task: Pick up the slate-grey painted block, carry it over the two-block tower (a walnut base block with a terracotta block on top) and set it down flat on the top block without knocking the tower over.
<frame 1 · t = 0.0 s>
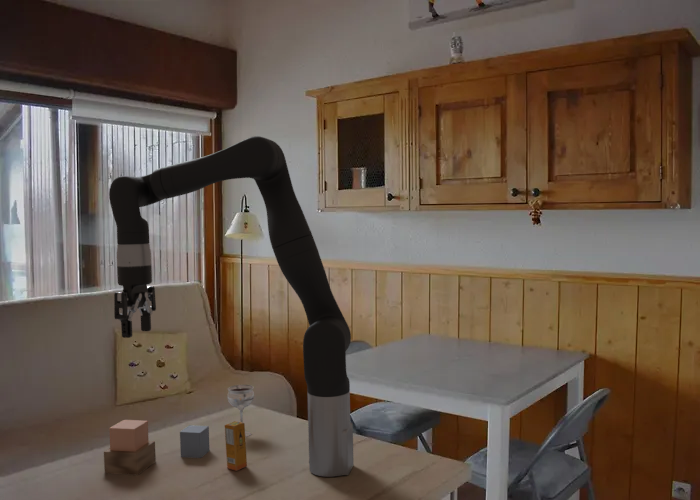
hand: (136, 334, 151), 29 cm above the table, fingers open, 8 cm apart
supplement box: (236, 468, 146), on the table
top block: (129, 446, 148), point 5 cm above the table
slate block: (195, 453, 156), on the table
base block: (130, 468, 148), on the table
wineglass: (242, 434, 169), on the table
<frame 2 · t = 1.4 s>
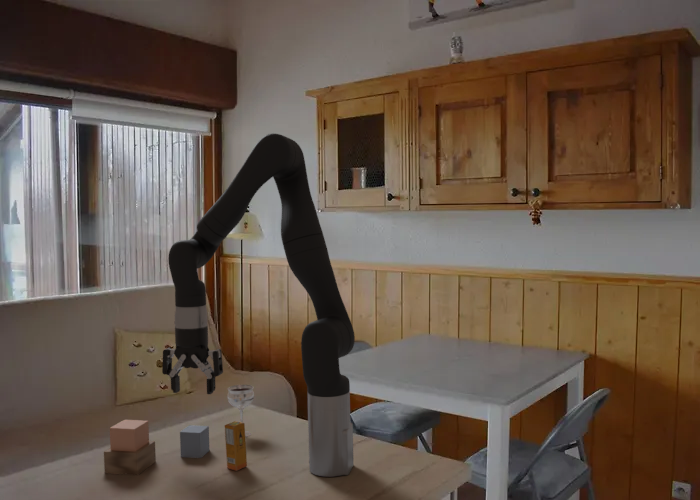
hand: (193, 392, 155), 15 cm above the table, fingers open, 8 cm apart
top block: (130, 446, 148), point 5 cm above the table, touching base block
base block: (130, 468, 148), on the table, touching top block
everything else where it was.
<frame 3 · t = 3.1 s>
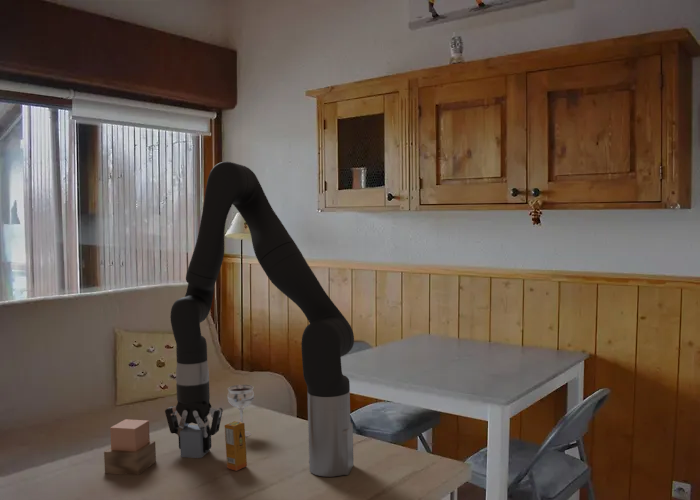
hand: (195, 450, 156), 1 cm above the table, fingers closed on slate block, 5 cm apart
slate block: (195, 453, 156), on the table, touching gripper
everything else where it was.
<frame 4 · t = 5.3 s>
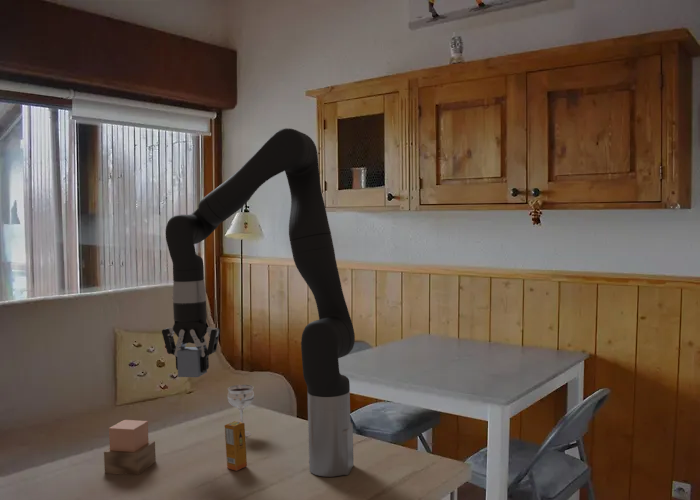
hand: (192, 371, 155), 20 cm above the table, fingers closed on slate block, 5 cm apart
slate block: (192, 374, 155), point 19 cm above the table, touching gripper
everything else where it was.
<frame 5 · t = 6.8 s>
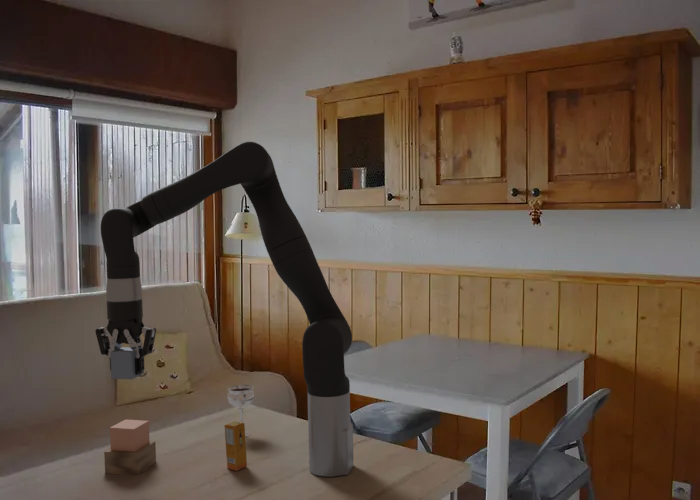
hand: (127, 373, 147), 21 cm above the table, fingers closed on slate block, 5 cm apart
slate block: (127, 376, 147), point 21 cm above the table, touching gripper
everything else where it was.
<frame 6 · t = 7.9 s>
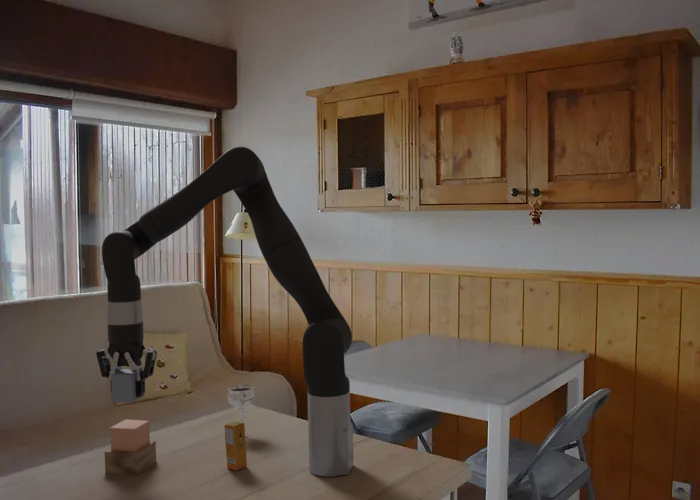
hand: (128, 395, 147), 16 cm above the table, fingers closed on slate block, 5 cm apart
slate block: (128, 398, 147), point 16 cm above the table, touching gripper
everything else where it was.
when the fingers open (12 cm above the table, at t = 9.3 s): slate block drops 2 cm, resting on top block.
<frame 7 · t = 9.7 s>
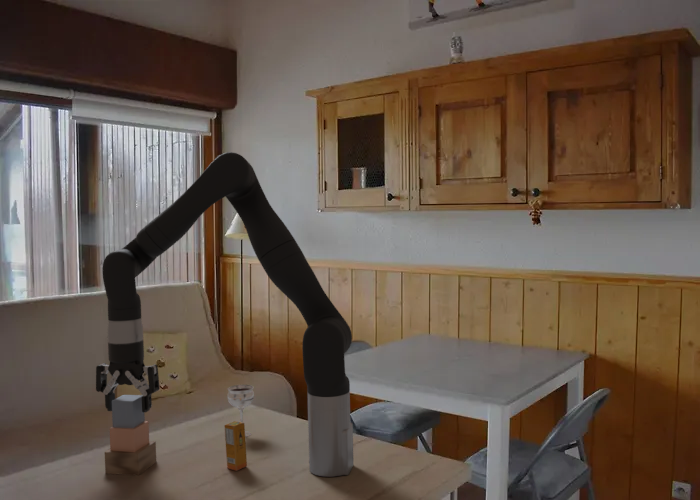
hand: (128, 410, 147), 13 cm above the table, fingers open, 8 cm apart
top block: (130, 446, 148), point 5 cm above the table, touching base block, slate block
slate block: (128, 424, 148), point 10 cm above the table, touching top block
everything else where it was.
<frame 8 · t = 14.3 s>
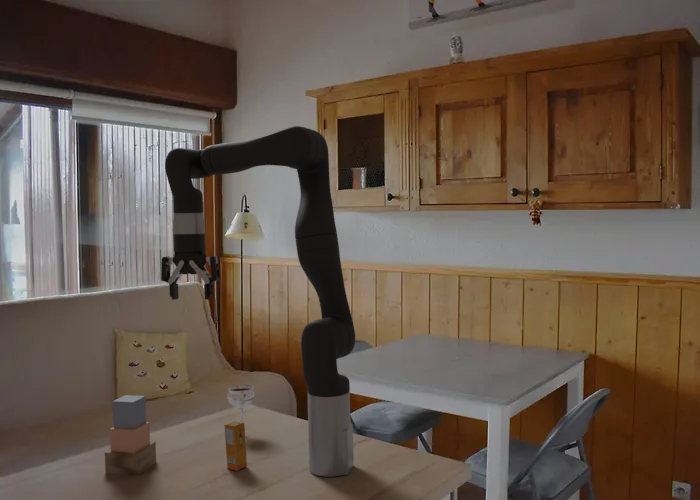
hand: (191, 299, 159), 36 cm above the table, fingers open, 8 cm apart
nothing on the table moved.
at the end: slate block 0.3 cm off-centre on the top block, point 5.0 cm above the top block's base; slate block tilted 0°; top block 1.1 cm from the target spot, point 4.8 cm above the table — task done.
